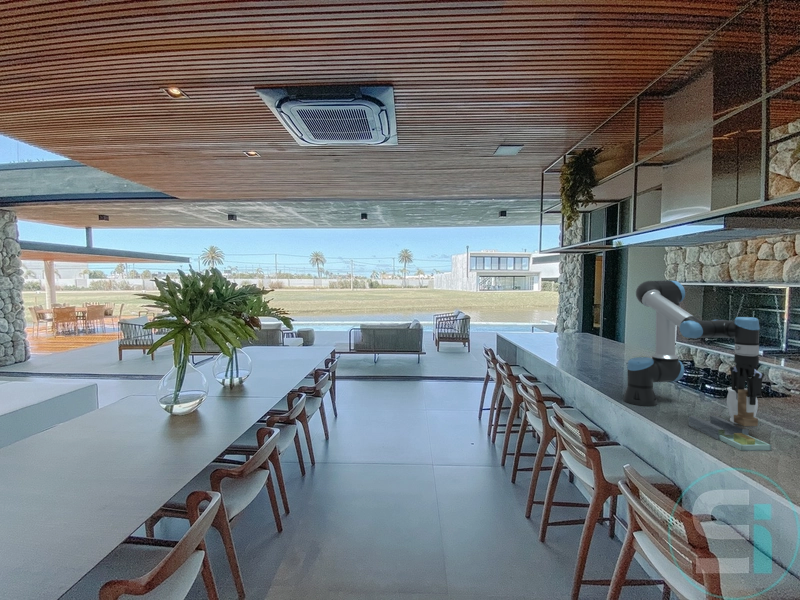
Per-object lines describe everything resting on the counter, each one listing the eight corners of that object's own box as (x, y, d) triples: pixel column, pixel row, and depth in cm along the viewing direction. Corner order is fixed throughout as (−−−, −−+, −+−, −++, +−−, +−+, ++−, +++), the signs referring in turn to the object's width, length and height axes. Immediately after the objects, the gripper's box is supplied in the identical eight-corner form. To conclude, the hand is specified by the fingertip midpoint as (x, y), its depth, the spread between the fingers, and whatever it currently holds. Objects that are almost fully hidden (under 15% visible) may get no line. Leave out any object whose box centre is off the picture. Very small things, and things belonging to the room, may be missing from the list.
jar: (763, 427, 166) (764, 393, 166) (736, 426, 169) (736, 392, 168) (746, 419, 177) (747, 387, 176) (721, 418, 179) (721, 386, 178)
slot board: (688, 425, 170) (688, 416, 170) (715, 425, 170) (716, 415, 170) (718, 440, 154) (718, 429, 154) (748, 439, 154) (748, 429, 154)
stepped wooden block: (733, 421, 162) (734, 389, 162) (746, 421, 162) (747, 388, 162) (744, 426, 157) (744, 392, 157) (757, 426, 157) (758, 392, 157)
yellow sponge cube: (740, 436, 149) (747, 439, 146) (748, 435, 149) (755, 439, 146) (740, 443, 149) (747, 446, 146) (747, 443, 149) (755, 446, 146)
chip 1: (733, 440, 152) (733, 433, 152) (741, 440, 152) (741, 433, 152) (740, 443, 149) (740, 436, 149) (747, 443, 149) (748, 435, 149)
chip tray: (719, 440, 154) (719, 435, 154) (747, 439, 154) (747, 434, 154) (741, 450, 144) (741, 445, 144) (771, 450, 144) (771, 445, 144)
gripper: (720, 351, 167) (720, 404, 168) (755, 358, 150) (754, 417, 151) (738, 351, 167) (737, 404, 168) (775, 358, 150) (774, 417, 151)
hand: (745, 410), depth 159 cm, fingers closed on stepped wooden block, 3 cm apart
